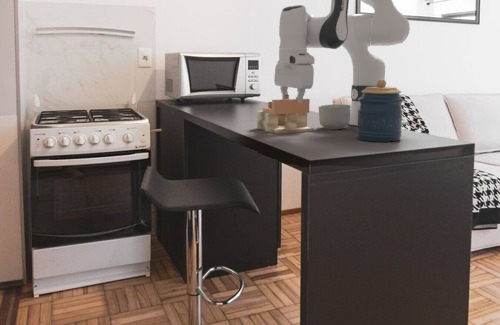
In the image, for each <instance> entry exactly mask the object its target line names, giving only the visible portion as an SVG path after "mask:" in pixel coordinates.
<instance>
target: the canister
mask: <svg viewBox="0 0 500 325" xmlns="http://www.w3.org/2000/svg"><path fill="white" fill-rule="evenodd" d="M361 92H362V93H363V95H362V97H360V98H359V99H358V100H359V102H360V106H359V109H358V126H357V125H356V127H357V128H356V138H357V139H358V140H362V141H366V142H375V143H376V142H377V143H391V141H393V142H398V141H400V140H401V136H402V125H401V124H402V120H403V112H404V111H403V110H402V103H403V102H404V99H403V98H402V97H401V96H400V94H401V93H402V91H401V90H400V89H398V88H397V87H396V86H387V82H386V80H383V79H380V80H378V82H377V87H366V88H365V89H364V90H362V91H361Z"/></svg>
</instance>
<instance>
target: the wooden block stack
mask: <svg viewBox="0 0 500 325" xmlns="http://www.w3.org/2000/svg"><path fill="white" fill-rule="evenodd" d="M267 108H269V109H272V101H267ZM256 129H259V130H260V131H261V130H262V131H265V132H269V133H273V134H292V133H293V134H294V133H306V132H307V133H308V132H310V133H311V132H314V128H313V127H309V126H308V113H291V114H272V113H268V112H263V110H257V111H256Z"/></svg>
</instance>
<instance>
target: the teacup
mask: <svg viewBox="0 0 500 325" xmlns="http://www.w3.org/2000/svg"><path fill="white" fill-rule="evenodd" d="M317 109H318V119H319V120H318V121H319V123H320V125H321V126H322V127H324V128H323V129H326V130H341V129H344V128H346V127H347V126H348V125H350V124H349V121H350V109H351V104H344V103H343V104H324V105H319V106H318V108H317Z"/></svg>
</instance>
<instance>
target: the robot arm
mask: <svg viewBox="0 0 500 325" xmlns="http://www.w3.org/2000/svg"><path fill="white" fill-rule="evenodd" d="M360 2H363V3H364V4H365V5H368V6H370V7H371V8H372V9H373V10H374V12H372V13H352V14H349V12H348V11H349V3H350V0H331V3H330V10H329V11H330V12H329V13H328V14H327V15H326V16H318V17H317V16H313V15H311V14H309V12H307V8H306V6H305V5H301V4H299V5H298V4H297V5H290V6H289V5H288V6H286V7H284V8H283V9H282V10H281V13H280V15H279V16H280V17H279V26H278V27H279V28H278V29H279V31H278V34H279V36H278V37H279V38H280V43H279V48H278V61H277V63H276V65H275V69H274V77H273V78H274V80H273V81H274V85H275V86H276V87H278V86H279V87H280V92H281V96H282V97H281V98H282V99H281V100H283V99H290V94H289V93H288V89H289V88H292V89H294V88H295V89H297V90H296V91H297V95H296V97H295V99H296V102H297V103H302V102H303V99H304V96H305V93H306V90H310V89H312V88H313V85H314V76H315V74H314V73H315V72H314V70H315V69H314V66H313V65H314V64H315V61H316V60H315V56H312V55H311V54H310V53H309V52H308V49H309V48H314V49H315V48H316V49H318V48H319V49H324V48H325V49H331V50H332V49H334V50H336V49H338V48H340V47H341V46H342V47H343V48H344V49H345V50H346V52H347V53H348V55H349V57H350V60H351V63H352V85H351V91H350V97H351V104H350V121H349V124H348V125H350V126H356V127H357V126H358V109H359V106H360V102H359V100H358V99H359V98H360V97H362V95H363V93H362V92H361V91H362V90H364V89H365V88H366V87H377V82H378V80H380V79H383V80H385V79H386V78H385V77H386V64H385V62H384V60H383V59H382V58H380V57H379V56H377V55H375V54H372V53H371V52H369V50H368V48H369V47H372V46H373V47H375V46H376V47H378V46H381V47H383V46H395V45H399V44H400V45H401V44H403V43H404V42H405V41H406V40H407V38H408V37H409V35H410V23H409V22H410V21H409V20H408V18H407V17H406V16H405V15H404V14H403V13H401V12H400V11H399V10H398V9H397V7H396V6H395V4H394V2H393V0H360ZM385 81H386V80H385ZM403 125H404V126H405V125H409V121H408V120H404V119H402V124H401V126H403Z"/></svg>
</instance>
